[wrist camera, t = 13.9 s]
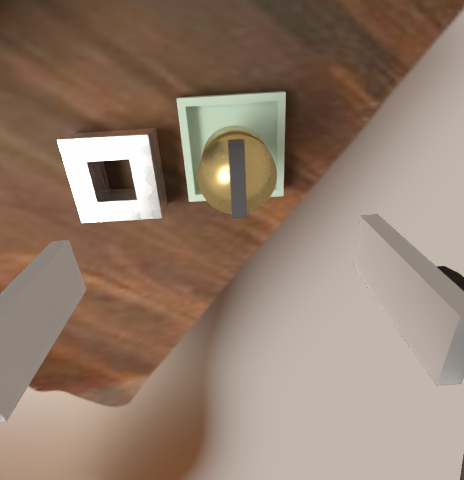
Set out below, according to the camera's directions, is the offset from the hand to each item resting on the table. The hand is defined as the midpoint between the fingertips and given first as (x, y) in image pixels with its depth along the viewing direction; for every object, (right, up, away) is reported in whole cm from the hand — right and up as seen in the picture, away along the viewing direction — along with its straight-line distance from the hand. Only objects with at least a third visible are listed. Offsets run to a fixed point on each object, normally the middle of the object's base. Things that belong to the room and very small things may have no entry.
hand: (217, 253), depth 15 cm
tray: (+1, +11, +22) cm, 25 cm away
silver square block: (-12, +9, +23) cm, 27 cm away
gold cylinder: (+1, +11, +22) cm, 24 cm away
